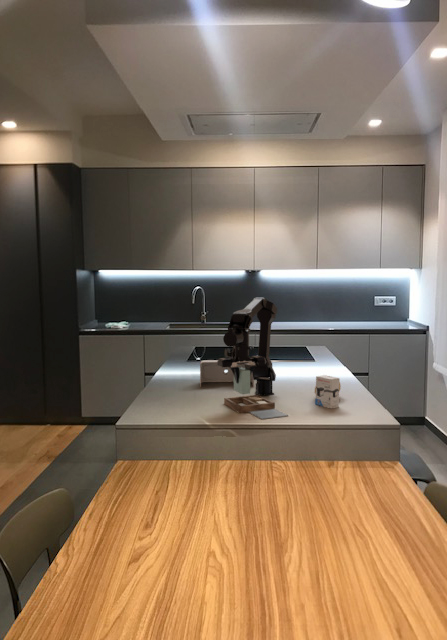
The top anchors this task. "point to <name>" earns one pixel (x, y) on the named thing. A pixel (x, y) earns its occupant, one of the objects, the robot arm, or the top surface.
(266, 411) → the mat
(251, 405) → the tray
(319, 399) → the ink box
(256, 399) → the offcut
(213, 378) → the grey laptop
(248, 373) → the tall sage green box
